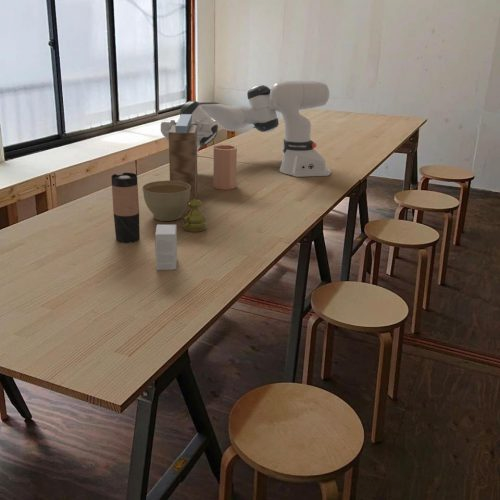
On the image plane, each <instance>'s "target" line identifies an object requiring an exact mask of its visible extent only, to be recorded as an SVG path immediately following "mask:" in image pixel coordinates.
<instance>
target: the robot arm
mask: <svg viewBox="0 0 500 500" xmlns="http://www.w3.org/2000/svg"><path fill="white" fill-rule="evenodd" d="M329 98H330V89H329V87H328V85H327V84H326V83H325V82H321V81H316V80H283V81H278V82H275V83H273V85H272V86H271V88H269V87H268V85H264V84H263V85H261V84H258V85H255V86H253V87H251V88H250V89H249V90H248V91H247V100H248V103H249V106H248V105H245V104H244V105H243V104H242V105H241V104H238V105H232V106H231V105H227V104H226V105H225V104H222V103H219V102H212V101H211V102H207V101H206V102H199V101H195V100H189V101H188V102H186V103H184V104H183V105H182V106H181V108H180V110H179V117H180V116H181V114H192V122H191V124H190V125H197V152H198V151H199V149H200V148H201V146H203V147H204V146H207V145H208V144H210V143H211V142H212V141H213V140H214V139H215V138H216V136H217V135H218V132H219V126H220V127H221V128H222V129H223V130H226V131H227V132H228V131H229V132H235V131H236V132H237V131H239V130H241V129H244V128H246V127H248V126H249V125H253V127H252V128H253V129H256V130H257V131H258V132H262V133H270V132H273V131H275V129H276V128H278V126H279V125H280V124H279V118H278V116H277V115H278V114H277V113H280V114H281V115H282V118H283V121H284V139H283V141H282V142H283V143H282V152H283V154H282V160H281V163H280V168H279V172H280V173H282V174H285V175H290V176H293V177H298V178H299V177H300V178H302V177H304V178H306V177H328V176H330V175H331V170H330V168H329V167H327V166H326V165H327V164H326V160H325V158H324V156H322V154H320V152H318V151H317V150H316V149H315V148H316V147H317V144H316V142H315V141H313V140H311V129H312V128H311V127H312V124H311V121H310V119H308V118H307V117H306V116H304V115H302V114H300V111H302V110H307V109H312V108H318V107H323V106H325V105H326V104H327V102H329V101H328V100H329ZM177 122H178V121H177ZM177 122H176V121H175V119H174V120H173V119H172V120H170V121H161V122H160V133H161V134H162V136H163V137H164V138H165V139H166V142H169V131H170V129H171V127H172V125H176V124H177ZM218 125H219V126H218Z"/></svg>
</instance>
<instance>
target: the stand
mask: <svg viewBox="0 0 500 500" xmlns="http://www.w3.org/2000/svg"><path fill="white" fill-rule="evenodd" d="M175 126H176V125H172V127H171V129H170V131H169V141H168V157H169V158H168V159H169V164H168V165H169V181H181V182H185V183H188V184H190V186H191V190H190V198H189V200H192V199H198V198H197V197H198V151H197V125H190V127H189V130H188V132H187V133H176V131H175Z"/></svg>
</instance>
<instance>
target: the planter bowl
mask: <svg viewBox="0 0 500 500" xmlns="http://www.w3.org/2000/svg"><path fill="white" fill-rule="evenodd" d="M141 189H142V192H143V193H142V195H143V198H144V202H145V205H146V206H147V208H148V211H150V212H151V214H152V217H153V218H154V220H157V221H161V222H169V221H170V222H173V221H176V220H179V219H181V218H183V213H184V212H185V210H186V209H187V207H188V205H187V202H188V201H189V198H190V190H191V186H190V184H188V183H185V182H181V181H170V180H157V181H151V182H148V183H145V184H144V185H142V188H141Z"/></svg>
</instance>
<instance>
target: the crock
mask: <svg viewBox="0 0 500 500" xmlns="http://www.w3.org/2000/svg"><path fill="white" fill-rule="evenodd" d="M237 147H238V146H236V145H232V144H218V145H214V146H213V188H214V189H216V190H221V191H230V190H234V189H236V188H237V158H238V157H237V156H238V155H237V154H238V153H237V151H238V149H237Z"/></svg>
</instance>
